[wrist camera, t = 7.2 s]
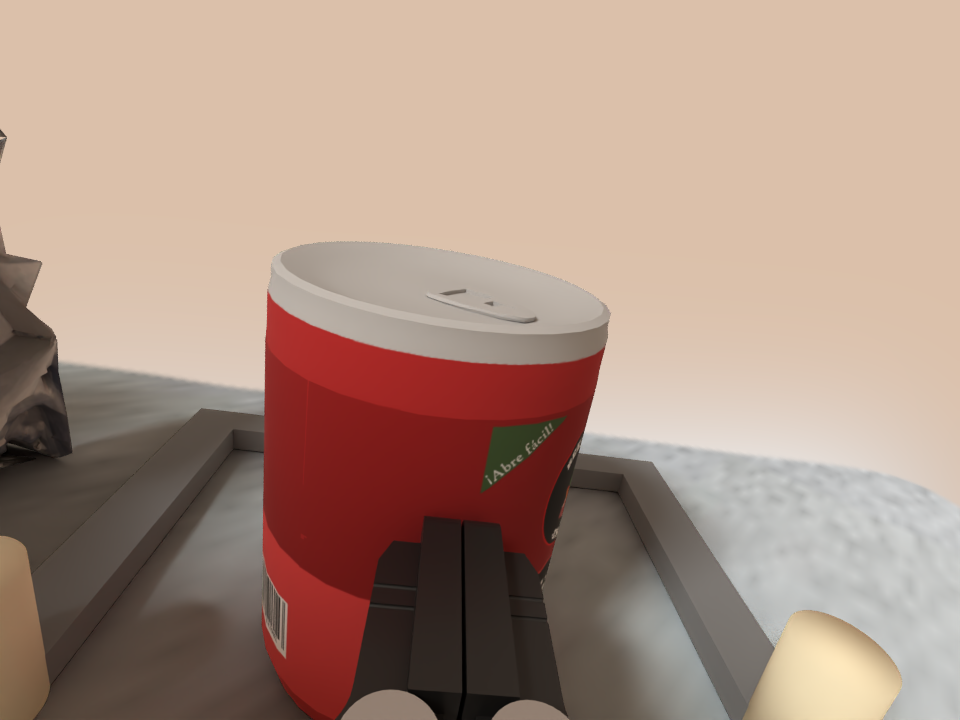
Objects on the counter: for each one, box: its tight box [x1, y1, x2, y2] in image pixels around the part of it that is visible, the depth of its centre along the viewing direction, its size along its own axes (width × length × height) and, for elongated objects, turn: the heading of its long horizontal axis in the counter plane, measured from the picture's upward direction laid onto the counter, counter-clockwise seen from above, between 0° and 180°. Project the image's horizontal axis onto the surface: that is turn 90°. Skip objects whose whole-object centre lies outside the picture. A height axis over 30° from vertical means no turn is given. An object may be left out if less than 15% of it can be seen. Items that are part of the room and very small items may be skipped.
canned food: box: [262, 242, 611, 720], centre depth 14 cm, size 8×8×11 cm
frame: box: [0, 408, 902, 720], centre depth 18 cm, size 22×15×4 cm, turn 92°
